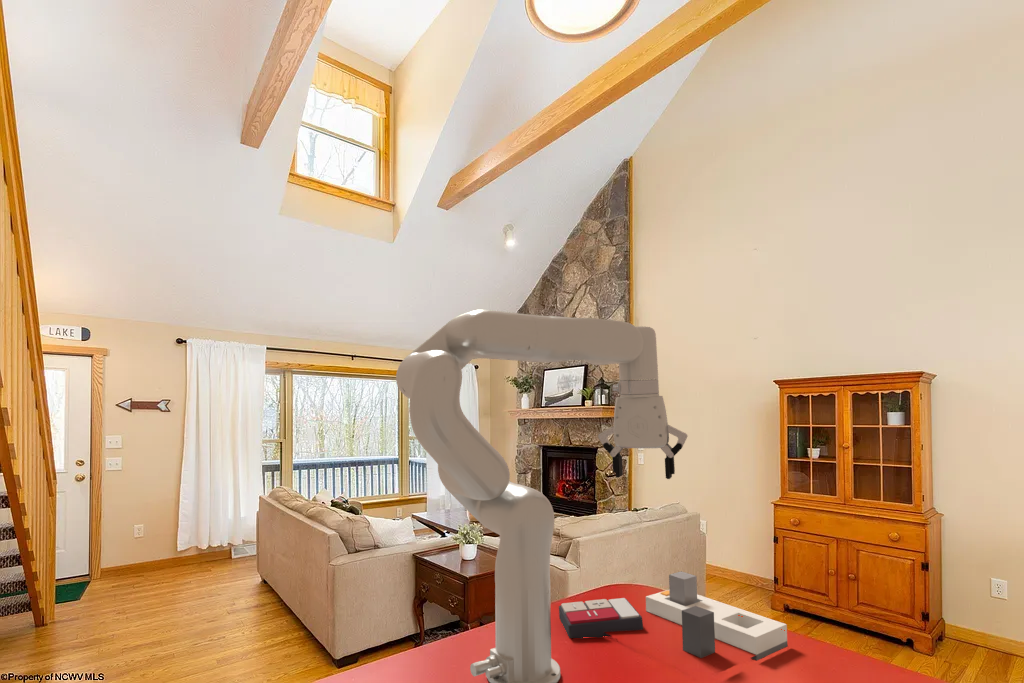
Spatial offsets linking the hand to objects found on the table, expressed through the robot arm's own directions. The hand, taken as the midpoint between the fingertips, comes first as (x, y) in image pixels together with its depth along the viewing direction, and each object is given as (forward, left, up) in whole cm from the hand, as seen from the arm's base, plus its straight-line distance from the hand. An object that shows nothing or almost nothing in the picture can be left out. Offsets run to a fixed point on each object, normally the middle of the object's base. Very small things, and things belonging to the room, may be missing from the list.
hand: (643, 477), depth 114 cm
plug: (+3, -9, -31) cm, 33 cm away
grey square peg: (+15, +4, -30) cm, 34 cm away
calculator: (-1, +12, -32) cm, 34 cm away
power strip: (+15, -3, -31) cm, 35 cm away
